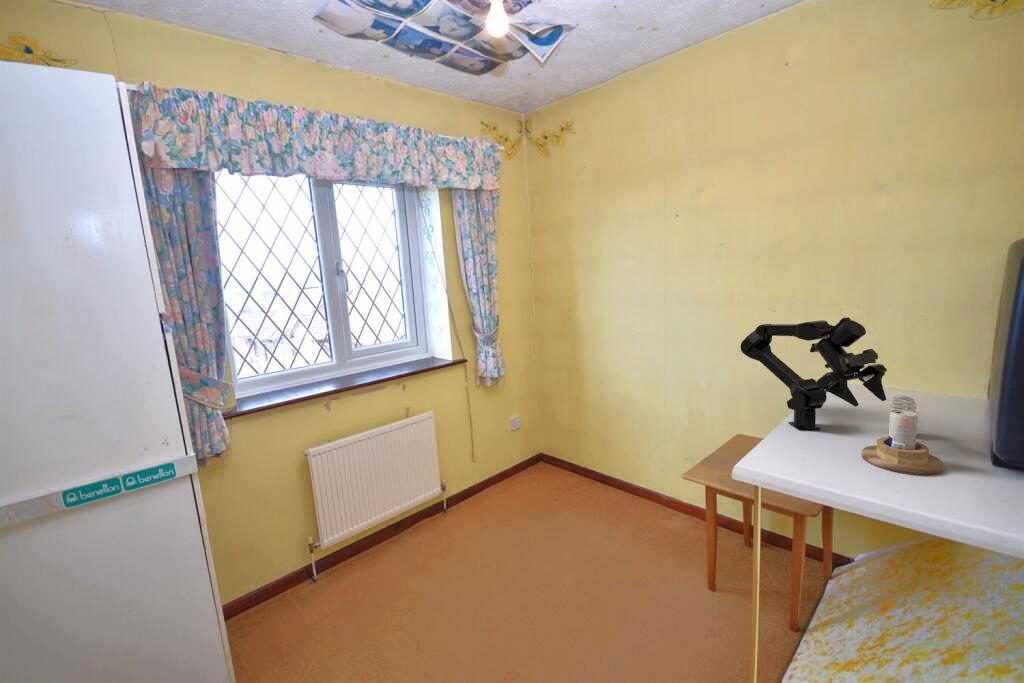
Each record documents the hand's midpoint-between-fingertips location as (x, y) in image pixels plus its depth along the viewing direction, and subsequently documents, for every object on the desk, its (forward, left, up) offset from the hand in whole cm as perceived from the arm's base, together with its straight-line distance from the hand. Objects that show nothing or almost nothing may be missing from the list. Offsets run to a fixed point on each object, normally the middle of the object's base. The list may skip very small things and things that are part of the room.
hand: (871, 403), depth 121 cm
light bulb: (-9, +16, -14) cm, 23 cm away
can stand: (+8, +3, -14) cm, 16 cm away
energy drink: (+8, +3, -13) cm, 15 cm away
